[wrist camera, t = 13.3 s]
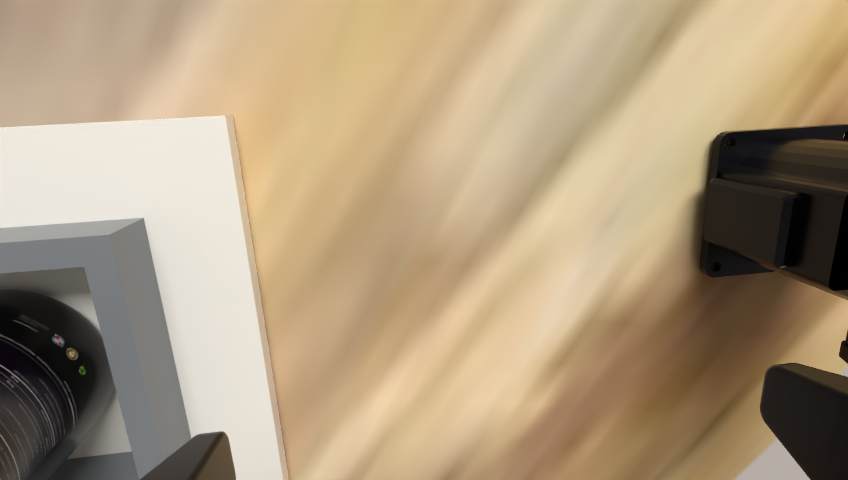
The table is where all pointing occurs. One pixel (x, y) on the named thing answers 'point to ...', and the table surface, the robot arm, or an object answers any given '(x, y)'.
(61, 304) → the supplement bottle
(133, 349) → the pocket plate
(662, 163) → the table surface
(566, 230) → the table surface
